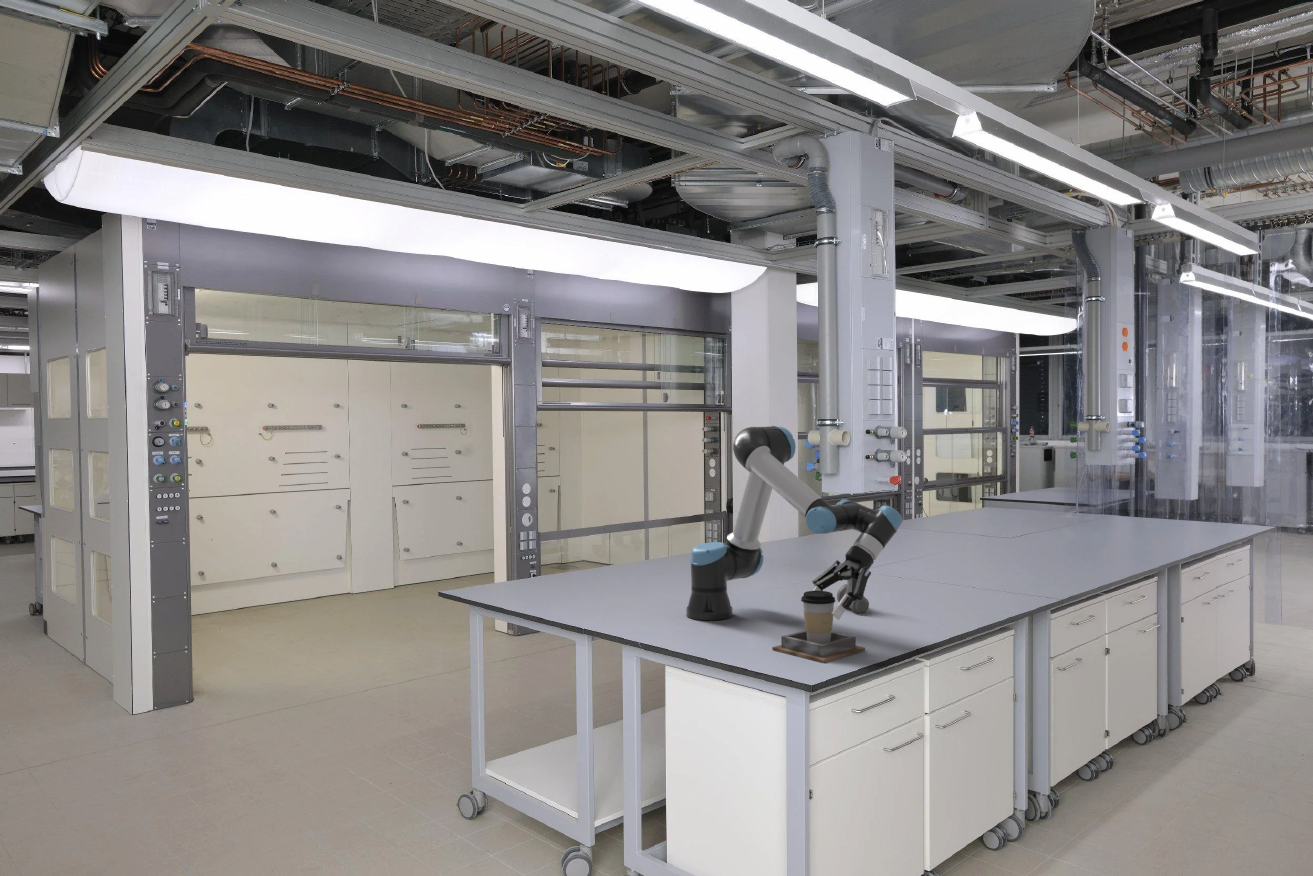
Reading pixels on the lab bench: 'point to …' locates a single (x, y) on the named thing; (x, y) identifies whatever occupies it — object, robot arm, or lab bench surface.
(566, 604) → the lab bench surface
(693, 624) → the lab bench surface
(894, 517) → the robot arm
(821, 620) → the coffee cup
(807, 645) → the square rimmed tray
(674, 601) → the lab bench surface
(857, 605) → the pipe fitting
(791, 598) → the lab bench surface
